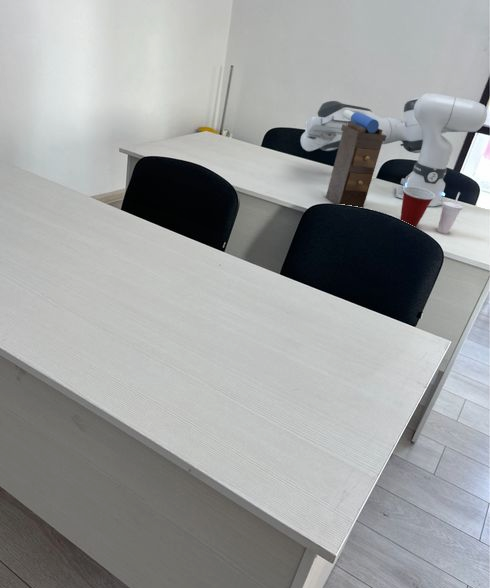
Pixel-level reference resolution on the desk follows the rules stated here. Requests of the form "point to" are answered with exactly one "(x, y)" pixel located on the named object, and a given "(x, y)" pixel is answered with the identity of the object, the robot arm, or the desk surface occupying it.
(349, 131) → the bedside cabinet
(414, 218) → the plastic cup
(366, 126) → the bottle
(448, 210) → the smoothie
